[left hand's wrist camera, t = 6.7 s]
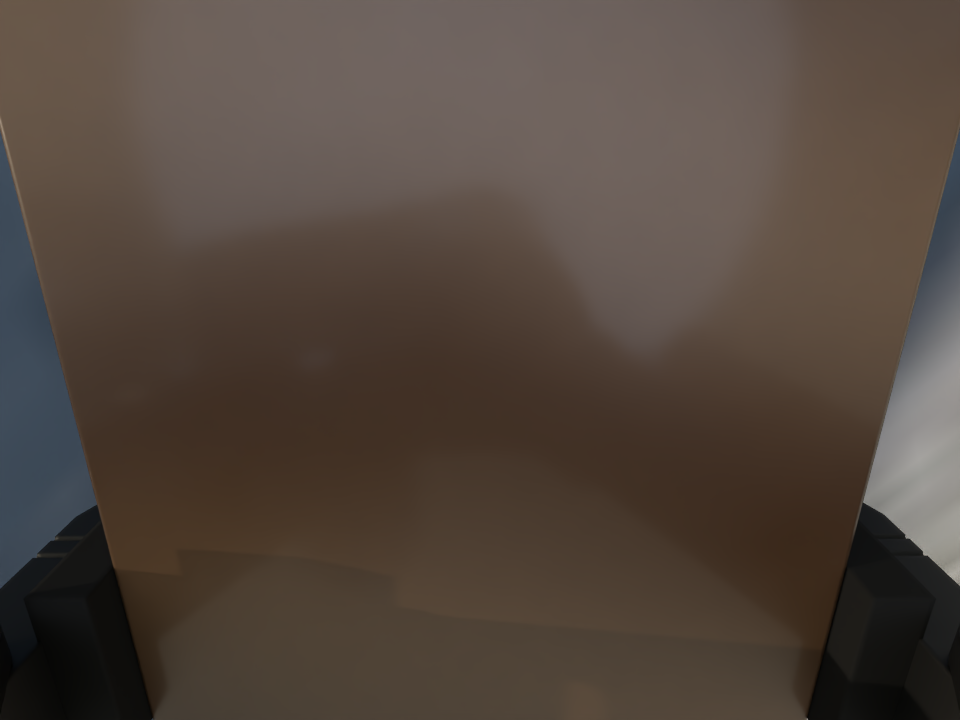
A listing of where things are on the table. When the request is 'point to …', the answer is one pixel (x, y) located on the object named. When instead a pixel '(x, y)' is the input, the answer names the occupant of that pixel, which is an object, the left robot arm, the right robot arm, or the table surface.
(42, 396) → the table surface
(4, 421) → the table surface
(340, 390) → the thick board
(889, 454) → the table surface
